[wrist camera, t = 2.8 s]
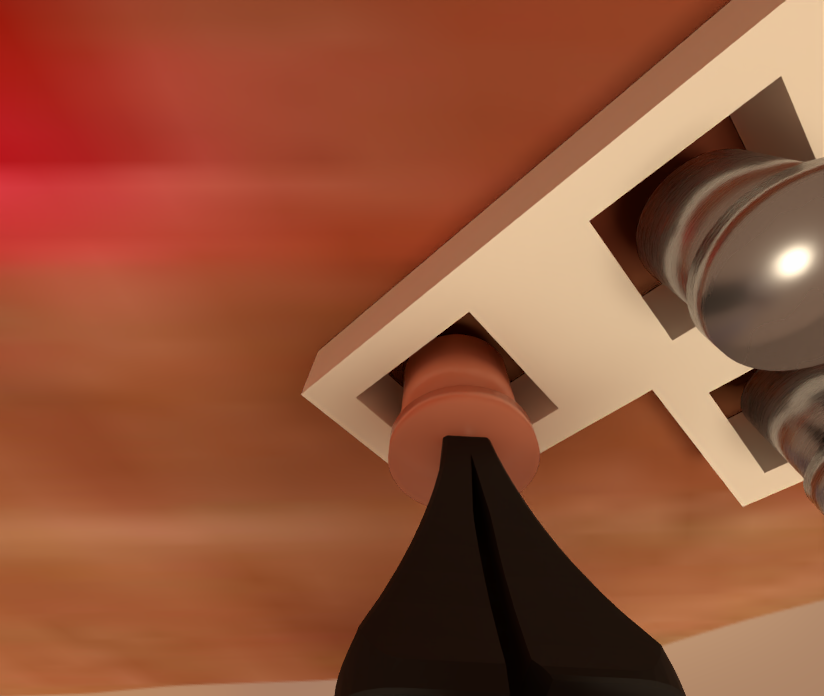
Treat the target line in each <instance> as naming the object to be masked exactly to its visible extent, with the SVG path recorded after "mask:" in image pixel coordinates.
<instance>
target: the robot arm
mask: <svg viewBox="0 0 824 696" xmlns="http://www.w3.org/2000/svg"><path fill="white" fill-rule="evenodd" d="M335 696H686V695H685V692H684V690H683V688H682V685H681V683H680V680H679V678H678V676H677V674H676V672H675V670H674V668H673V666H672V664H671V662H670V661H669V659H668V657H667V655H666V653H665V652H664V650H663V648H662V646H661V644H659V643H658V642H657V641H656V640H655V639H653V638H652V637H651V636H650V635H649V634H647V633H646V632H645V631H644V630H643V629H641V628H640V627H639V626H638V625H637V624H635V623H634V622H633V621H632V620H631V619H629V618H628V617H627V616H626V615H625V614H624V613H622V612H621V611H620V610H619V609H618V608H617V607H616V606H615V605H614V604H613V603H612V602H611V601H610V600H608V599H607V598H606V597H605V596H604V595H603V594H602V593H601V592H600V591H599V590H598V589H597V588H596V587H595V586H594V585H593V584H592V583H591V581H590V580H589V579H588V578H587V577H586V576H585V575H584V574H583V573H582V572H581V571H580V570H579V569H578V568H577V567H576V566H575V565H574V564H573V563H572V562H571V560H570V559H569V558H568V557H567V556H566V555H565V554H564V552H563V551H562V550H561V549H560V548H559V547H558V545H557V544H556V543H555V542H554V540H553V539H552V538H551V537H550V536H549V534H548V533H547V532H546V530H545V529H544V528H543V526H542V525H541V524H540V522H539V521H538V520H537V518H536V517H535V515H534V514H533V513H532V511H531V510H530V508H529V507H528V506H527V504H526V503H525V501H524V500H523V498H522V497H521V495H520V493H519V492H518V490H517V489H516V487H515V485H514V484H513V482H512V481H511V479H510V477H509V475H508V474H507V472H506V470H505V468H504V467H503V465H502V463H501V461H500V459H499V457H498V456H497V454H496V452H495V450H494V448H493V445H492V443H491V441H490V440H489V439H488V438H487V437H469V436H451V435H447V436H445V437H443V440H442V449H441V458H440V467H439V472H438V476H437V479H436V483H435V486H434V489H433V492H432V495H431V498H430V500H429V503H428V506H427V508H426V511H425V513H424V516H423V518H422V520H421V523H420V525H419V527H418V529H417V531H416V534H415V536H414V538H413V540H412V542H411V544H410V546H409V548H408V550H407V552H406V553H405V555H404V557H403V559H402V561H401V563H400V564H399V566H398V568H397V570H396V571H395V573H394V575H393V576H392V578H391V579H390V581H389V583H388V584H387V586H386V588H385V589H384V591H383V592H382V594H381V596H380V597H379V599H378V600H377V601H376V603H375V604H374V606H373V607H372V609H371V610H370V611H369V613H368V614H367V616H366V617H365V618H364V620H363V621H362V623H361V624H360V626H359V627H358V630H357V633H356V635H355V637H354V639H353V641H352V643H351V646H350V648H349V650H348V652H347V655H346V657H345V659H344V662H343V665H342V667H341V670H340V673H339V676H338V680H337V684H336V689H335Z"/></svg>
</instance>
